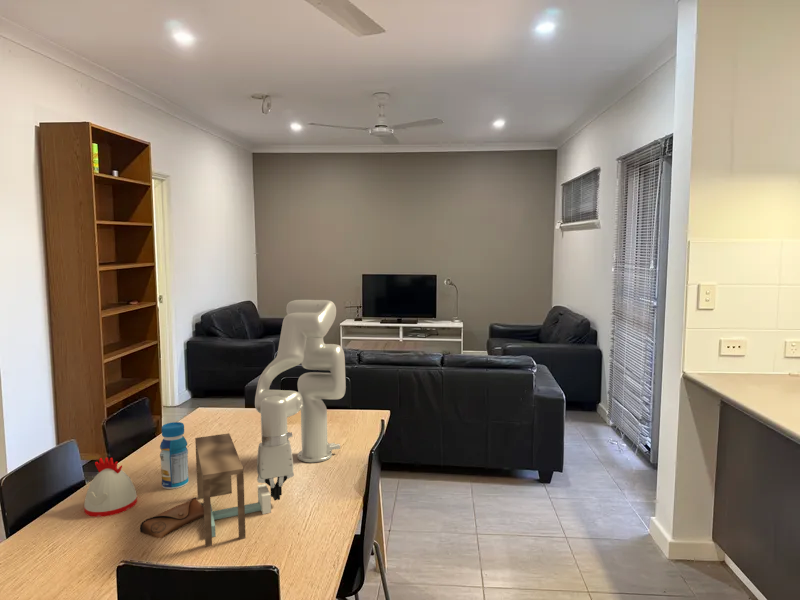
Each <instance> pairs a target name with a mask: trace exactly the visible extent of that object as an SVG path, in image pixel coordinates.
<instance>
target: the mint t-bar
mask: <svg viewBox="0 0 800 600" xmlns="http://www.w3.org/2000/svg"><path fill="white" fill-rule="evenodd" d="M271 499H272V497H271V491H269V488H268V485H267V484H266V483H261V484H257V502H254V503H249V504H245V515H246V514H250V513H255V512H260V511H261V513H262V515H265V514H270V513H272V500H271ZM235 516H238V505H237V506H233V507H228V508H223V509H218V510H213V508H212V507H211V527H212V538H214V537H216V536H217V535H216V522H215V520H220V519H225V518H230V517H235Z"/></svg>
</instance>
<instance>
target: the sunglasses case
mask: <svg viewBox="0 0 800 600" xmlns="http://www.w3.org/2000/svg"><path fill="white" fill-rule="evenodd" d="M202 518H204V504H202V503H201V502H200V501H199V499H198V498H197V497H196V496H195V497H193V498H192V499H191V498H190V500H188V501H186V502H183V503H181V504H178V505H175V506H173V507H171V508H169V509H167V510H165V511H163V512H161V513H158V514H157V515H154V516H150V517H149V518H147V519H145V520H143V521H142V522H141V523H140V526H139V531H140V533H141V534H145V535H147V536H150V537H152V538H156V539H163V538H165V537H166V536H168V535H170V534H172V533H174V532H176V531H178V530H179V529H181V528H183V527H186V526H187V525H189V524H191V523H193V522H195V521H197V520H200V519H202Z"/></svg>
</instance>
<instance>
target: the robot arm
mask: <svg viewBox="0 0 800 600" xmlns="http://www.w3.org/2000/svg"><path fill="white" fill-rule="evenodd" d="M285 309H286V315H285V316H284V318H283V321H282V324H281V325H282V326H281V331H280V338H279V342H278V349H277V354H276V357H275V358H274V359H273V360H272V361H271V362H270V363H268V365H267V366H266V367H265V368H264V370H263V371H262V373H261V374H260V376H259V379H258V381H257V385H256V391H255V396H254V407H255V410H256V411H257V412H258V413H259V414H260V426H261V427H260V428H261V429H260V431H261V442H259V444H258V448H257V457H256V472H257V478H256V481H257V483H258V484H259V483H260V484H266V485H267V486H269V487H270V488H269V489H270V494H271V498H272V499H273V500H274V502H275V501H280V500H281V496H282V494H283V493H282V489H283V488H282V487H283V485H284V483H285V482H286V481H287V480H288V479H290V478H292V477H294V476H295V474H294V458H293V451H292V445H291V442H290V440H289V438H292V437H293V432H290V431H289V432H288V418H290V417H292V416H295V415H296V414H298V413H299V412H300V428H301V430H300V431H301V433H300V435H301V438H300V439H301V450H300V451H298V453H297V459H298V460H299V461H301V462H304V463H320V462H325V461H327V460H329V459H330V458H332V456H333V450H339V449H341V444H340V443H335V442H330V443H329V442H328V411H327V409H328V408H327V406H326V404H325V403H324V401H323V400H340V399H342V398H343V397H344V396H345V394H346V388H347V386H346V383H347V382H346V360H345V359H346V358H345V356H346V355H345V352H344V349H343V347H342V346H341V345H339V344H336V343H335V344H334V343H325V341H324V337H326V335H327V334H328V332H329V330H330V329H331V327H332V326H333V324H334V322H335V319H336V315H337V307H336V304H335V303H334V302H333V301H331V300H330V299H329V300H328V299H295V300H291V301H289V302H288V303H287V304H286V308H285ZM299 365H301V367H302V368H303V369H306V370H312V371H313V372H311V371H310V372H305V373H303V374H301V375H300V376H299V378H298V380H297V390H298V391H296V390H290V389H289V390H285V389H284V390H283V389H282V390H281V389H270V388H271V387H270V386H271V384H272V382H273V380H275V378H277V376H278V375H280V374H281V373H283V372H285V371H287V370H290V369H292V368H294V367H296V366H299ZM317 370H318V371H330V372H318V371H317ZM316 371H317V372H316ZM275 478H276V482H275Z"/></svg>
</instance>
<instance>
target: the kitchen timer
mask: <svg viewBox="0 0 800 600" xmlns="http://www.w3.org/2000/svg"><path fill="white" fill-rule="evenodd" d="M94 465H95V467H96V469H97V471H98V472H97V474H96V475H95V476H94V478H93V479H92V480H91V482H90V483H89V485H88V488H87V491H86V494H85V499H84V504H83V506H84V507H83V510H84V514H85V515H87V516H89V517H95V518H98V517H99V518H102V517H108V516H110V517H111V516H114V515H118V514H120V513H123V511H124V512H126V511H128V510H130V509H131V508H133V507H134V506H135V505H136V504H137V502H138V499H137V498H138V496H137V491H136V488H135V485H134V484H133V481H132V477H131V476H129V475H128V474H127V473H126V472H125V471H124V470H122V468H123V465H120V466H119V468H118V461H115V462H114V459H113V457H110V458H109V457H105V458H104V460H103V457H100V458H99V459H98V461H95V462H94Z"/></svg>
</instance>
